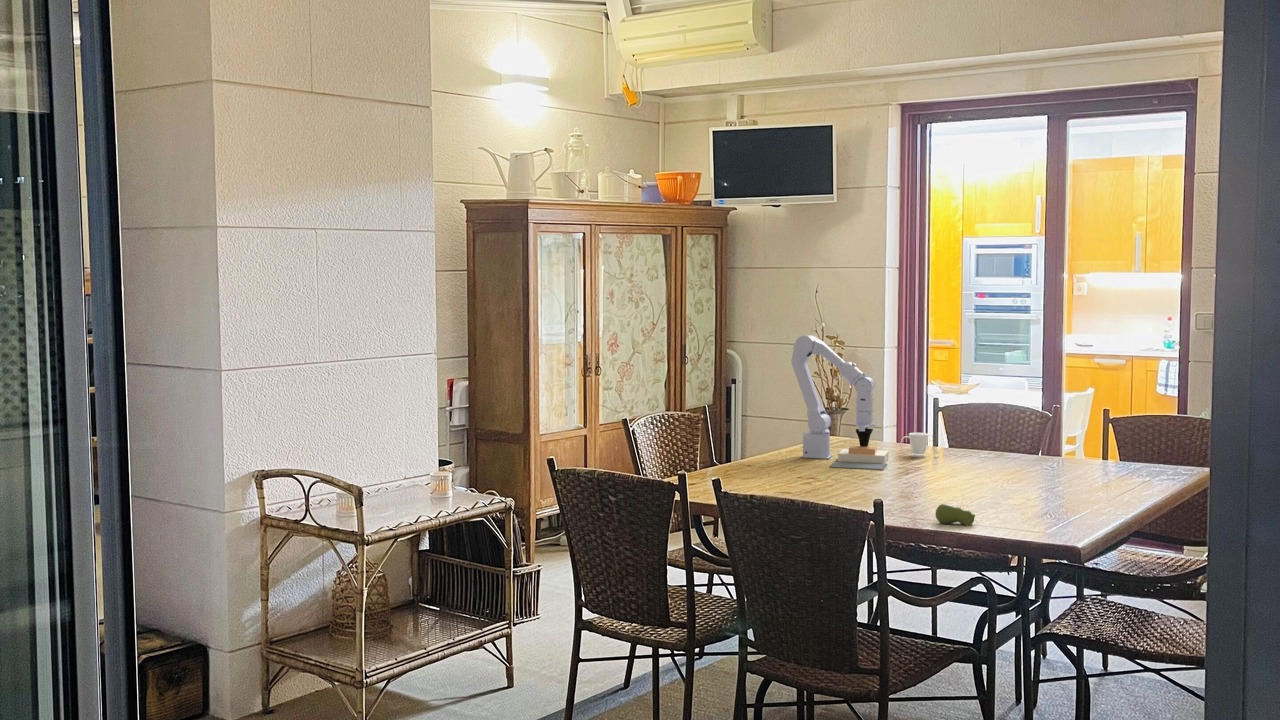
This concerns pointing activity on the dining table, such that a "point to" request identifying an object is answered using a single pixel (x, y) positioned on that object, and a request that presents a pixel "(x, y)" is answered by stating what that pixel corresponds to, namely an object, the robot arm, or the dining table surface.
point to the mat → (858, 465)
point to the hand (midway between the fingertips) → (864, 449)
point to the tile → (862, 450)
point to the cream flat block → (863, 457)
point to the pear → (953, 514)
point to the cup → (917, 443)
